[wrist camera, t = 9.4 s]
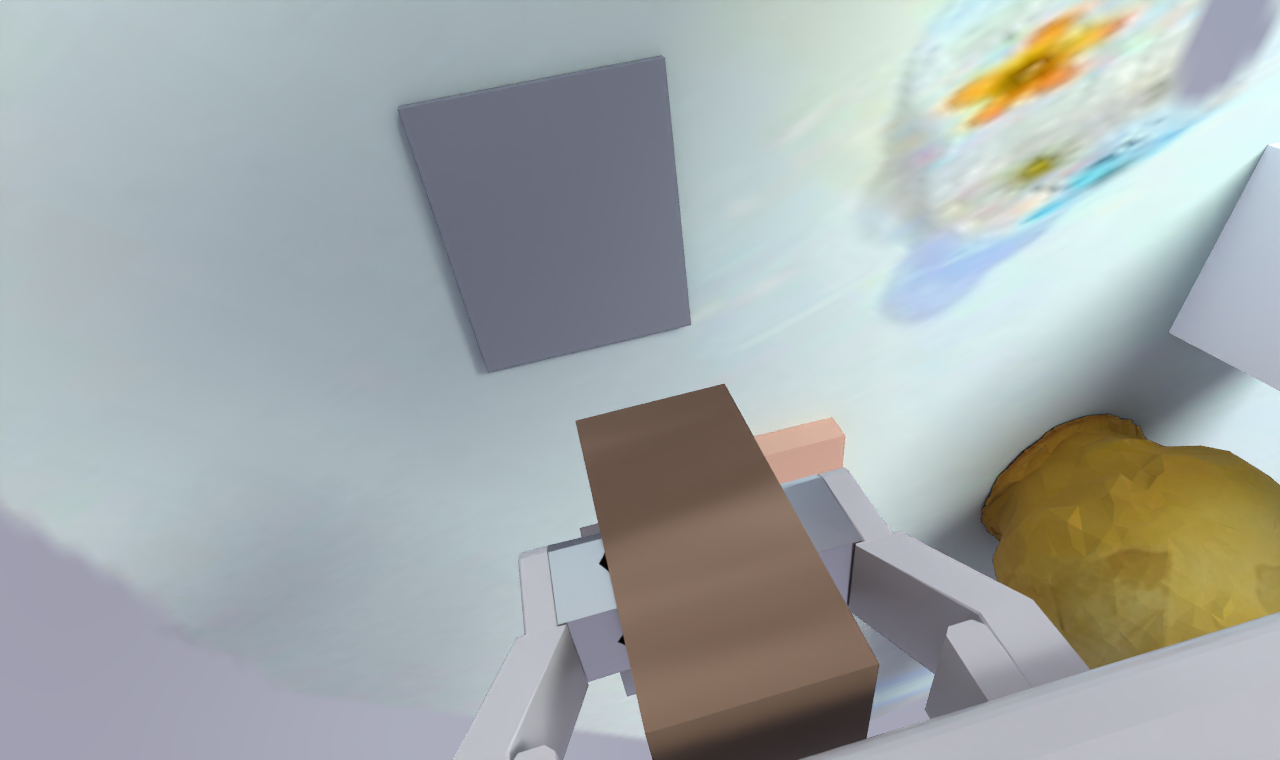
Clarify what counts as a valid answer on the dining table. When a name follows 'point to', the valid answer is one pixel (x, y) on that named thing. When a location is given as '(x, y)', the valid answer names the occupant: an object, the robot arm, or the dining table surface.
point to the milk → (1242, 283)
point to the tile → (803, 449)
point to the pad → (558, 209)
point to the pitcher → (1135, 538)
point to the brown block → (720, 589)
